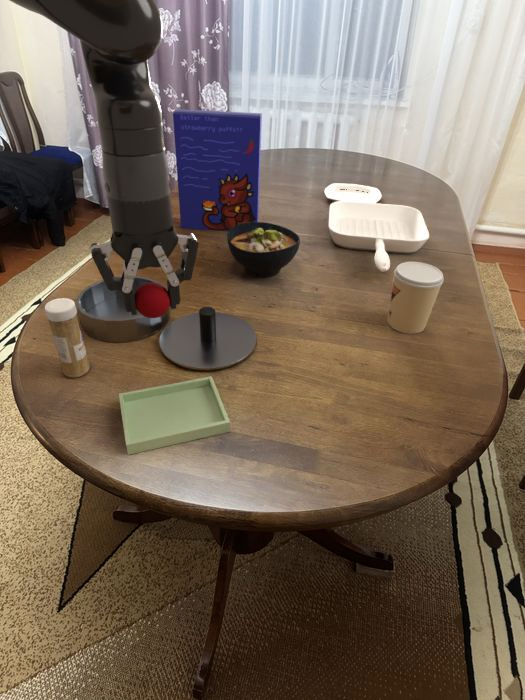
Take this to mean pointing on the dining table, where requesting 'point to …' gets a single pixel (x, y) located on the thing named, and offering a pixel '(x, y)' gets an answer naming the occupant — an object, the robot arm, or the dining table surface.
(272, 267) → the bowl
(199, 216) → the cereal box
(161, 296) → the dark red ball
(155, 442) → the tray
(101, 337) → the pot
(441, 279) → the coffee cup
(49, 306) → the sprinkles bottle
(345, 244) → the pan
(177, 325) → the pot lid
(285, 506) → the dining table surface
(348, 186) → the plate
